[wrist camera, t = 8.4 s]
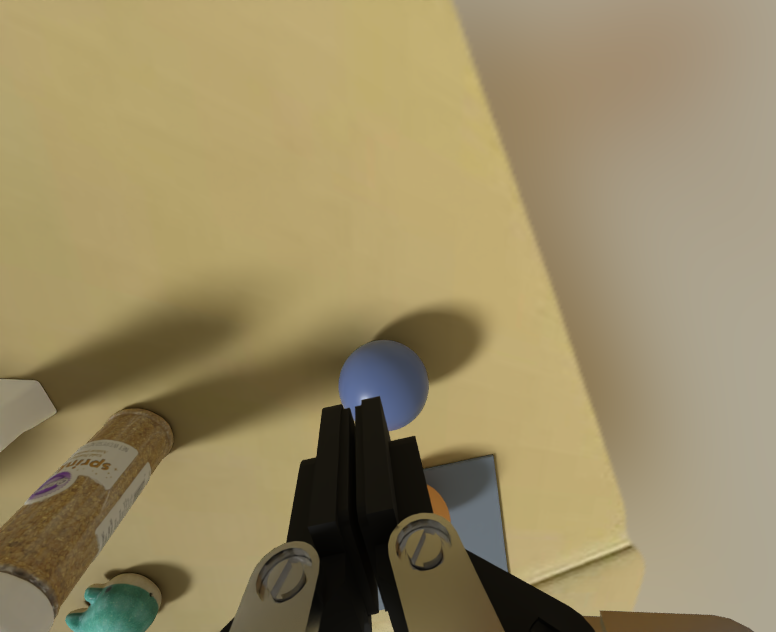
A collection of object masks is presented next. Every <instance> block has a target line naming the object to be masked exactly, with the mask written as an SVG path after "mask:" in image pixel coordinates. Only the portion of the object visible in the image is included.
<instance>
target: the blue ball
mask: <svg viewBox="0 0 776 632" xmlns="http://www.w3.org/2000/svg"><path fill="white" fill-rule="evenodd" d="M428 390H429V381H428V375H427V372H426V368H425V366H424V364H423V362H422V361H421V359H420V358H419V357H418V355H417V354H416V353H415V352H414V351H412V350H411V349H410V348H408V347H407V346H405V345H403V344H401V343H399V342H396V341H391V340H377V341H372V342H369V343H366V344H364V345H362V346H361V347H359V348H357V349H356V350H355V351H354V352H353V353H352V354H351V355H350V356H349V357H348V359H347V360H346V361H345V363H344V365H343V367H342V370H341V372H340V377H339V395H340V399H341V402H342V404H343V406H344V408H345V409H346V408H350V409H351V412H352V416H353V420H354V421H355V406H359V405H361V400H363V399H368V398H372V397H377V396H380V398H381V402H382V406H383V410H384V414H385V419H386V423H387V427H388V431H393V430H396V429H400V428H402V427H404V426H406V425H407V424H409V423H410V422H412V421H413V420H414V419H415V418H416V417H417V416H418V415H419V413H420V412H421V411H422V409H423V407H424V405H425V402H426V400H427V396H428Z"/></svg>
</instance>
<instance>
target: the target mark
mask: <svg viewBox="0 0 776 632" xmlns="http://www.w3.org/2000/svg"><path fill="white" fill-rule="evenodd" d="M423 471H424V475H425V479H426V484H427V485H429V486H431V487H432V488H434V489H435V490H436V491H437V492H438V493H439V494H440V495H441V497H442V498H443V500H444V501H445V503H446V505H447V507H448V510H449V514H450V519H451V524H452V525H453V527H454V528H455V530H456V531H457V533H458V535H459V537H460V539H461V541H462V544H463V546H464V548H465V549H467V550H468V551H470V552H472V553H474V554H476V555H477V556H479V557H481V558H483V559H485V560H486V561H488V562H490V563H492V564H494V565H495V566H497V567H499V568H501V569H503V570H504V571H506V572H508V569H507V561H506V553H505V545H504V537H503V529H502V521H501V513H500V505H499V497H498V489H497V481H496V473H495V465H494V457H493V454H492V455H488V456H483V457H478V458H474V459H469V460H464V461H459V462H455V463H450V464H445V465H441V466H436V467H431V468H427V469H423ZM378 599H379V610H383V609H384V605H383V602H382V599H381V595H380V592H379V589H378Z"/></svg>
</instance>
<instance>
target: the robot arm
mask: <svg viewBox="0 0 776 632" xmlns="http://www.w3.org/2000/svg"><path fill="white" fill-rule="evenodd" d="M378 589H379V592H380V595H381V599H382V602H383V605H384V609H385V611H388V613H389V616H390V620H391V623H392V627H393V630H394V632H753V631H752V630H751V629H750V628H748V627H746V626H744V625H742V624H740V623H738V622H736V621H734V620H732V619H729V618H725V617H719V616H715V615H699V614H674V613H646V612H622V611H600V617H597V616H582V615H581V614H579V613H578V612H576V611H575V610H574V609H572V608H571V607H569V606H568V605H566V604H564V603H562V602H560V601H559V600H557V599H555V598H553V597H551V596H550V595H548V594H546V593H544V592H542V591H541V590H539V589H537V588H535V587H533V586H532V585H530V584H528V583H526V582H524V581H522V580H521V579H519V578H517V577H515V576H513V575H512V574H510V573H508V572H506V571H504V570H503V569H501V568H499V567H497V566H495V565H494V564H492V563H490V562H488V561H486V560H485V559H483V558H481V557H479V556H477V555H476V554H474V553H472V552H470V551H468V550H467V549H465V548H464V546H463V544H462V541H461V539H460V537H459V535H458V533H457V531H456V530H455V528H454V527H453V525H452V524H451V523H450V522H449V521H448V520H446V519H445V518H444V517H442V516H439V515H436V514H434V513H433V509H432V505H431V500H430V496H429V492H428V488H427V484H426V479H425V475H424V471H423V467H422V463H421V459H420V454H419V450H418V446H417V442H416V438H415V436H412V437H407V438H403V439H398V440H394V441H391V440H390V436H389V431H388V427H387V423H386V419H385V414H384V410H383V406H382V402H381V398H380V396H377V397H372V398H368V399H363V400H361V405H359V406H355V423H354V420H353V416H352V412H351V409H350V408H346V409H344V408H343V406H342V404H340V405H336V406H331V407H326V408H323V409H322V415H321V424H320V432H319V440H318V448H317V456H316V458H311V459H307V460H302V462H301V464H300V468H299V473H298V479H297V485H296V490H295V496H294V502H293V507H292V513H291V519H290V525H289V530H288V536H287V542H286V543H284V544H282V545H280V546H278V547H276V548H274V549H273V550H271V551H270V552H269V553H268V554H266V555H265V556H264V557H263V558H262V560H261V561H260V562H259V563H258V564H257V565H256V567H255V569H254V571H253V573H252V575H251V577H250V579H249V582H248V584H247V587H246V589H245V592H244V595H243V597H242V600H241V602H240V605H239V608H238V610H237V613H236V615H235V617H234V618H233V619H232V620H231V621H230V622H229V623H228V624H227V625H226V626H225V627H224V628H223V629H222V630H221V631H220V632H372V621H371V615H373V614H377V613H379V599H378Z"/></svg>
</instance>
